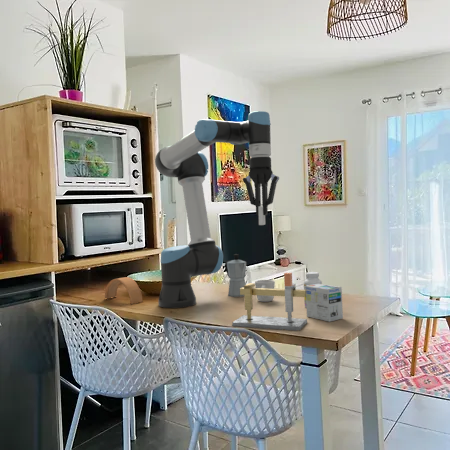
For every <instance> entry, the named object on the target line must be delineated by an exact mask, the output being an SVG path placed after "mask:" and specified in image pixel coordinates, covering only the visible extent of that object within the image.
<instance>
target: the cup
mask: <svg viewBox="0 0 450 450" xmlns="http://www.w3.org/2000/svg"><path fill="white" fill-rule="evenodd" d="M254 283H255V288H269V289H275V287H276V286H275V284H276V281H275V280H272V279H259V280H256V281H254ZM274 297H275V296H263V295H256V299H257V301H258V302H262V303H267V302H273V300H274Z"/></svg>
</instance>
